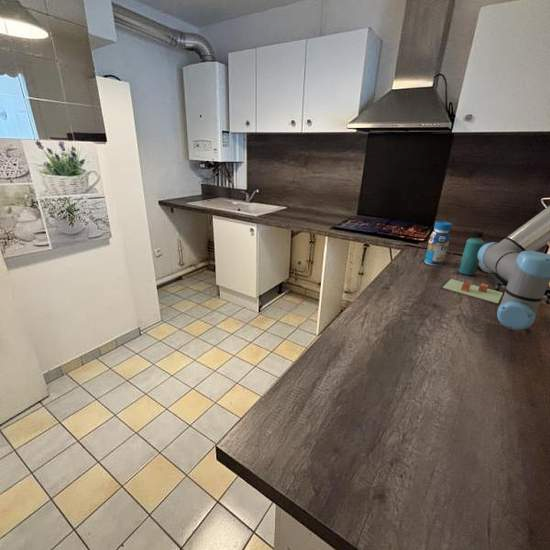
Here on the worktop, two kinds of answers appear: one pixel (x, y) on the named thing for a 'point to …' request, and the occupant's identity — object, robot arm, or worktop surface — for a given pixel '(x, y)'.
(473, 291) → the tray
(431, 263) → the beverage bottle
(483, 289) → the crumb
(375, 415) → the worktop surface
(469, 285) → the crumb
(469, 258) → the beverage bottle
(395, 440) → the worktop surface
